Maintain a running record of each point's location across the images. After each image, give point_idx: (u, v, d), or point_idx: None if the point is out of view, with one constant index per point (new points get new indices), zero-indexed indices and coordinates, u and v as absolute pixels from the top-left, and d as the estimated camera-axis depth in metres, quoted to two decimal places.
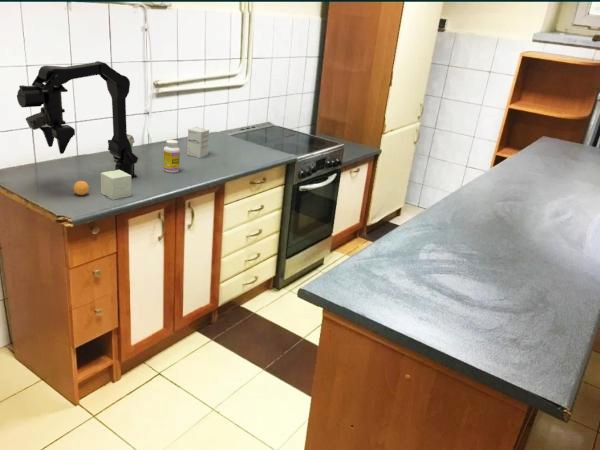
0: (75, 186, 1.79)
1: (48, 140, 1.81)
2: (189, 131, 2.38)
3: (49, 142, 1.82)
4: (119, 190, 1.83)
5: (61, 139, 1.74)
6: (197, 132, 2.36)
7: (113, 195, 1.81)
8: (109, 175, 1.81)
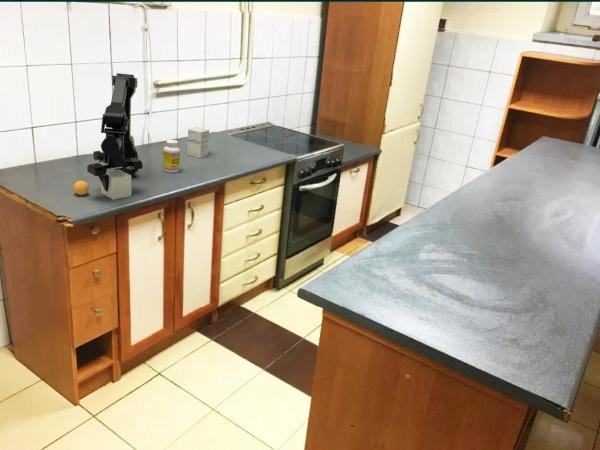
0: (75, 186, 1.79)
1: None
2: (189, 131, 2.38)
3: None
4: (119, 190, 1.83)
5: None
6: (197, 132, 2.36)
7: (113, 195, 1.81)
8: (109, 175, 1.81)
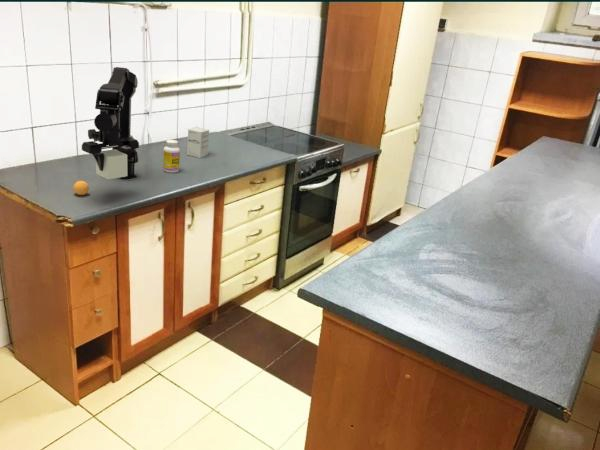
0: (75, 186, 1.79)
1: None
2: (189, 131, 2.38)
3: None
4: (115, 170, 1.77)
5: (97, 156, 1.74)
6: (197, 132, 2.36)
7: (108, 175, 1.76)
8: (104, 154, 1.76)
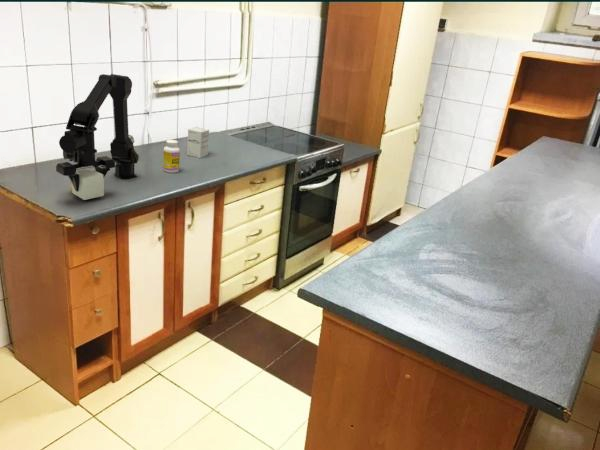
0: (71, 184, 1.81)
1: None
2: (189, 131, 2.38)
3: None
4: (91, 190, 1.76)
5: (72, 176, 1.74)
6: (197, 132, 2.36)
7: (84, 195, 1.75)
8: (80, 174, 1.75)
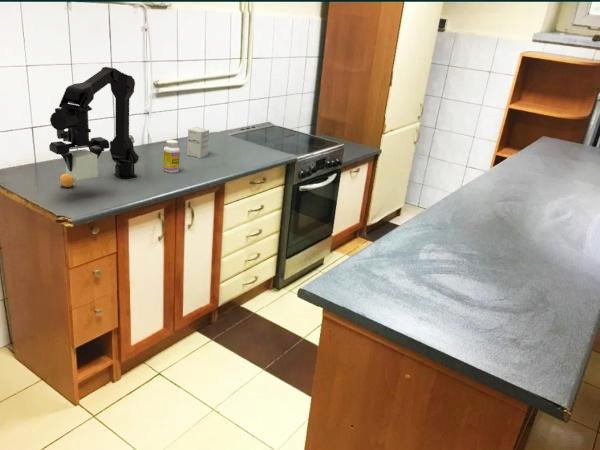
0: (62, 183, 1.85)
1: None
2: (189, 131, 2.38)
3: None
4: (84, 170, 1.75)
5: (65, 156, 1.73)
6: (197, 132, 2.36)
7: (78, 175, 1.74)
8: (73, 154, 1.74)
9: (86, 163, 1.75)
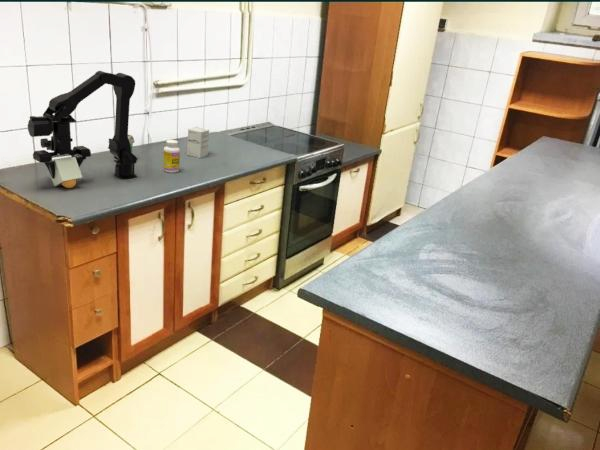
0: (63, 184, 1.85)
1: None
2: (189, 131, 2.38)
3: None
4: (67, 171, 1.83)
5: (48, 164, 1.82)
6: (197, 132, 2.36)
7: (62, 177, 1.82)
8: None
9: (66, 165, 1.84)
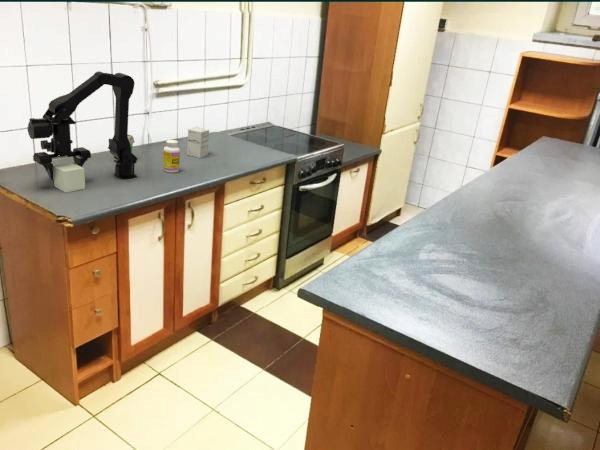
0: None
1: None
2: (189, 131, 2.38)
3: None
4: (72, 183, 1.83)
5: (46, 166, 1.82)
6: (197, 132, 2.36)
7: (66, 188, 1.82)
8: (61, 168, 1.82)
9: (73, 176, 1.83)
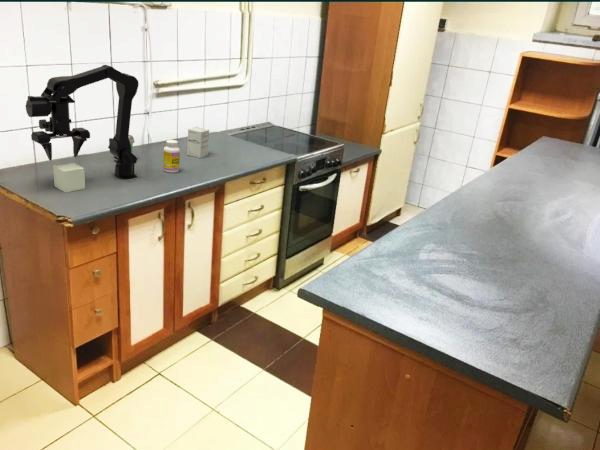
0: None
1: (73, 150, 1.88)
2: (189, 131, 2.38)
3: (74, 152, 1.88)
4: (72, 183, 1.83)
5: (45, 145, 1.79)
6: (197, 132, 2.36)
7: (66, 188, 1.82)
8: (61, 168, 1.82)
9: (73, 176, 1.83)
